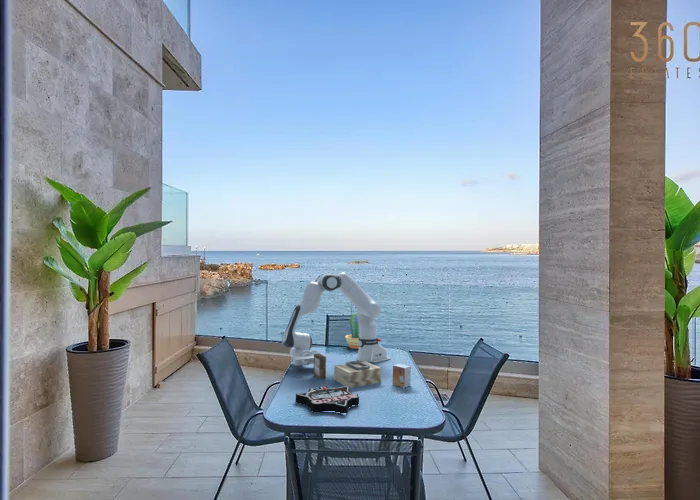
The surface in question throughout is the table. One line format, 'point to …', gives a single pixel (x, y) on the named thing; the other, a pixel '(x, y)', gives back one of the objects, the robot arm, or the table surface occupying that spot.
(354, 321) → the potted cactus
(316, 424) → the table surface
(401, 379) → the small box
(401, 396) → the table surface
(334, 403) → the wall plaque
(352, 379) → the beige rectangular block
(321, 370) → the tall brown block
